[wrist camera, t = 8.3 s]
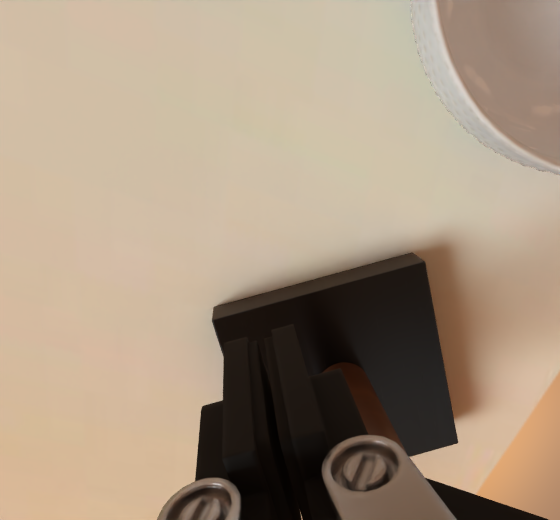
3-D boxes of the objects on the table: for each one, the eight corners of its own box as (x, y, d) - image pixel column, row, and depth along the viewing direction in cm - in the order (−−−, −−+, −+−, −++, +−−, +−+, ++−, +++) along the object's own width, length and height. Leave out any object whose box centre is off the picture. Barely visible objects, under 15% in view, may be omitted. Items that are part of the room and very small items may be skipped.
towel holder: (203, 310, 29) (377, 243, 32) (258, 478, 32) (410, 400, 36) (365, 494, 13) (672, 320, 16) (440, 789, 16) (681, 590, 20)
